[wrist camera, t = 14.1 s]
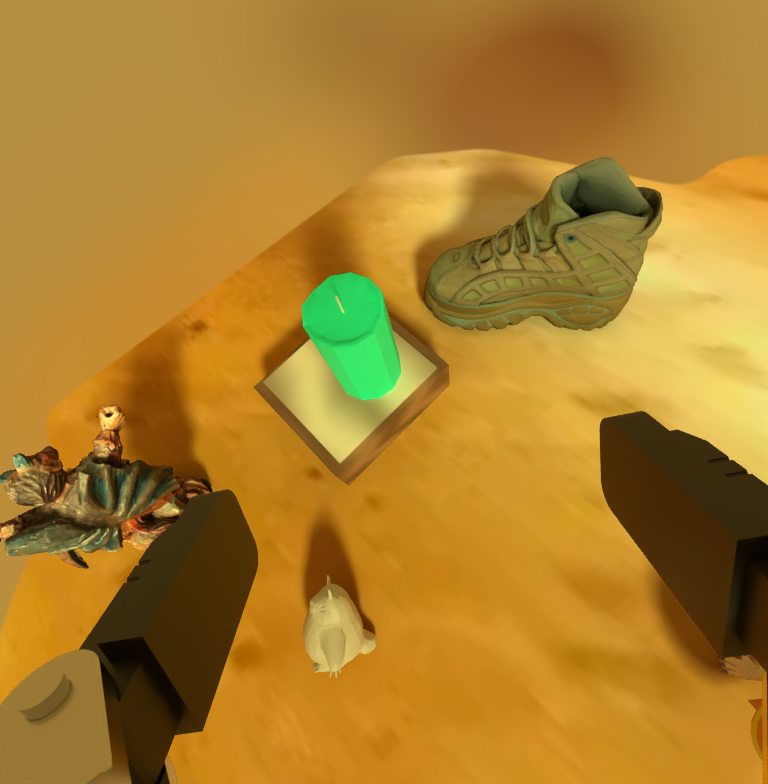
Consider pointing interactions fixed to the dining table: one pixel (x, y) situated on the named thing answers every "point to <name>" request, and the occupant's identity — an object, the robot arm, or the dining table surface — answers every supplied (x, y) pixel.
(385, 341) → the candle
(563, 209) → the sneaker
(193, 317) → the dining table surface
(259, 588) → the dining table surface
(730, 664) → the toy
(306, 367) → the wooden square box
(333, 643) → the figurine
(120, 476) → the figurine
